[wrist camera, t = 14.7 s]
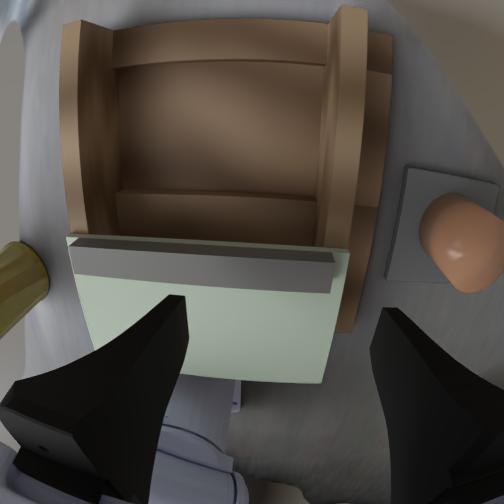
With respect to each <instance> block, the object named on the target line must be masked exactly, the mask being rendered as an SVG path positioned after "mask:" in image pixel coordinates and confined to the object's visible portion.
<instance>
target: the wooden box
mask: <svg viewBox="0 0 504 504" xmlns="http://www.w3.org/2000/svg"><path fill="white" fill-rule="evenodd" d="M392 64H393V36H392V35H388V34H383V33H379V32H374V31H369V30H368V9H363V8H357V7H352V6H346V5H341V6H340V8H339V9H338V11H337V12H336V13H335V15H334V16H333V18H332V19H331V21H330V22H329V24H325V23H316V22H306V21H295V20H280V19H253V18H231V19H204V20H189V21H178V22H168V23H159V24H152V25H145V26H138V27H132V28H126V29H121V30H115V31H113V30H110V29H107V28H104V27H101V26H99V25H96V24H93V23H90V22H87V21H84V20H78V21H74V22H71V23H68V24H64V25H63V28H62V39H61V53H60V78H59V111H60V137H61V153H62V165H63V175H64V184H65V193H66V201H67V208H68V215H69V221H70V227H71V233H72V234H93V235H113V236H133V237H152V238H171V239H189V240H207V241H225V242H242V243H259V244H276V245H292V246H308V247H324V248H340V249H348V250H349V252H350V256H349V262H348V267H347V272H346V278H345V283H344V288H343V293H342V298H341V303H340V307H339V312H338V317H337V321H336V325H335V330H334V333H352V329H353V325H354V321H355V317H356V313H357V309H358V305H359V301H360V297H361V293H362V288H363V284H364V279H365V275H366V270H367V265H368V261H369V256H370V251H371V246H372V240H373V235H374V229H375V224H376V218H377V212H378V206H379V200H380V193H381V186H382V179H383V172H384V164H385V156H386V147H387V137H388V127H389V116H390V103H391V87H392Z"/></svg>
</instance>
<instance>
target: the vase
mask: <svg viewBox="0 0 504 504" xmlns="http://www.w3.org/2000/svg"><path fill="white" fill-rule="evenodd" d="M48 289H49V280H48V275H47V272H46V269H45V267H44V265H43V263H42V261H41V259H40V258H39V257H38V255H37V254H36V253H35V252H34V251H33V250H32V249H31V248H29V247H28V246H27V245H25V244H23V243H21V242H10V243H8V244H7V245H6V246H5V247H4V248H3V249H2V250H1V251H0V339H1V338H2V337H3V336H4V335H5V334H6V333H7V332H8V331H9V330H10V329H11V328H12V327H13V326H14V325H16V324H17V323H18V322H19V321H20V320H21V319H22V318H23V317H24V316H25V315H26V314H27V313H28V312H29V311H30V310H31V309H32V308H33V307H34V306H35V305H36V304H37V303H39V302H40V301H41V300H43V299H44V298H45V296H46V294H47V292H48Z"/></svg>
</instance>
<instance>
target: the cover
mask: <svg viewBox="0 0 504 504" xmlns="http://www.w3.org/2000/svg"><path fill="white" fill-rule="evenodd" d="M66 240H67V245H68V250H69V255H70V260H71V264H72V269H73V273H74V278H75V282H76V286H77V290H78V294H79V298H80V302H81V305H82V309H83V313H84V316H85V320H86V323H87V326H88V330H89V333H90V336H91V339H92V343H93V346H94V349H95V350H97V349H99V348H100V347H102V346H104V345H105V344H107V343H108V342H110V341H111V340H113V339H114V338H116V337H117V336H119V335H120V334H121V333H123V332H124V331H125V330H127V329H128V328H129V327H131V326H132V325H133V324H135V323H136V322H137V321H138V320H139V319H141V318H142V317H143V316H144V315H146V314H147V313H148V312H149V311H150V310H151V309H153V308H154V307H155V306H156V305H157V304H158V303H159V302H161V301H162V300H163V299H164V298H165V297H167V296H168V295H169V294H172V295H183V296H185V298H186V309H187V319H188V329H189V343H188V348H187V352H186V356H185V360H184V363H183V366H182V369H181V372H180V374H187V375H195V376H204V377H214V378H224V379H235V380H248V381H263V382H283V383H321V382H322V378H323V375H324V371H325V367H326V363H327V359H328V355H329V351H330V347H331V343H332V338H333V334H334V330H335V325H336V321H337V317H338V312H339V307H340V303H341V298H342V293H343V288H344V283H345V278H346V272H347V267H348V262H349V256H350V252H349V250H348V249H340V248H324V247H308V246H292V245H276V244H259V243H242V242H225V241H207V240H189V239H171V238H152V237H133V236H113V235H93V234H72V233H70V234H69V235H68V236H67V237H66Z"/></svg>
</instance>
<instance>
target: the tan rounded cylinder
mask: <svg viewBox="0 0 504 504" xmlns="http://www.w3.org/2000/svg"><path fill="white" fill-rule="evenodd" d="M419 240H420V244H421V246H422V248H423V250H424V251H425V253H426V254H427V255H428V256H429V257H430V258H431V260H432V261H433V262H434V263H435V264H436V265H437V267H438V268H439V269H440V270H441V271H442V272H443V274H444V275H445V276H446V277H447V278H448V280H449V281H450V282H451V283H452V285H453V286H454V287H455V288H456V289H458V290H459V291H462V292H465V293H474V292H478V291H481V290H483V289H485V288H487V287H488V286H489V285H491V284H492V283H493V282H494V281H495V280H496V279H497V278H498V277H499V276H500V274H501V273H502V271H503V270H504V221H502V220H501V219H500V218H498V217H497V216H495V215H494V214H492V213H491V212H489V211H488V210H486V209H484V208H483V207H481V206H480V205H478V204H476V203H475V202H473V201H472V200H470V199H468V198H467V197H465V196H463V195H461V194H458V193H447V194H444V195H442V196H439V197H438V198H436V199H435V200H434V201H433V202H432V203H431V204H430V205H429V206H428V207H427V208H426V210H425V212H424V214H423V216H422V218H421V221H420V225H419Z"/></svg>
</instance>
